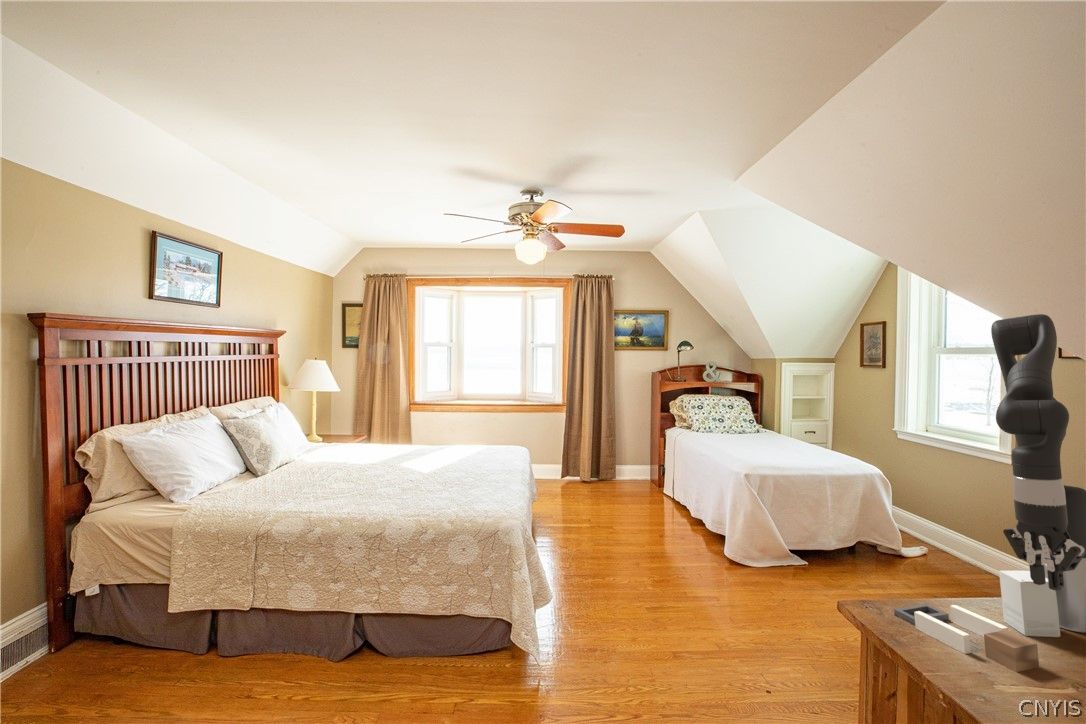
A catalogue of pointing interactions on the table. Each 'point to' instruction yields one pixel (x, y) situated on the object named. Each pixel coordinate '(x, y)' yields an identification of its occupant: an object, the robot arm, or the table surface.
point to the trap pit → (909, 616)
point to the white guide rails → (954, 635)
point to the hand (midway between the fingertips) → (1047, 586)
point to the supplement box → (1029, 605)
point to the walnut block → (1011, 650)
